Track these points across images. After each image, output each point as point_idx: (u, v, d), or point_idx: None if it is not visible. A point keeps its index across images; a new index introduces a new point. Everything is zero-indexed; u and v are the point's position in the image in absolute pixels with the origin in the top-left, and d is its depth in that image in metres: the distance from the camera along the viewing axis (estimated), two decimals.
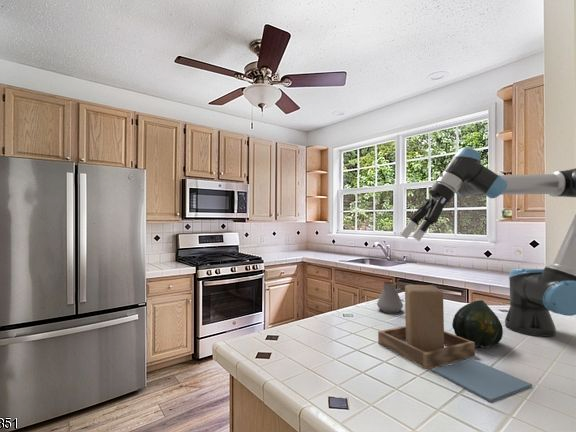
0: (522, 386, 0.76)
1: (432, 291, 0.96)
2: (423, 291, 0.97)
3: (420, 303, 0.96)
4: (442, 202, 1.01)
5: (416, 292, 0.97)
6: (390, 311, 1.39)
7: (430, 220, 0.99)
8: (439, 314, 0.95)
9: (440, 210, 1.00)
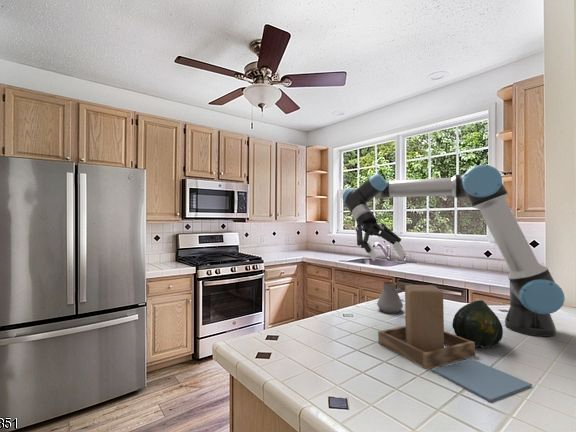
0: (522, 386, 0.76)
1: (432, 291, 0.96)
2: (423, 291, 0.97)
3: (420, 303, 0.96)
4: (357, 228, 1.21)
5: (416, 292, 0.97)
6: (390, 311, 1.39)
7: (360, 244, 1.16)
8: (439, 314, 0.95)
9: (359, 233, 1.19)
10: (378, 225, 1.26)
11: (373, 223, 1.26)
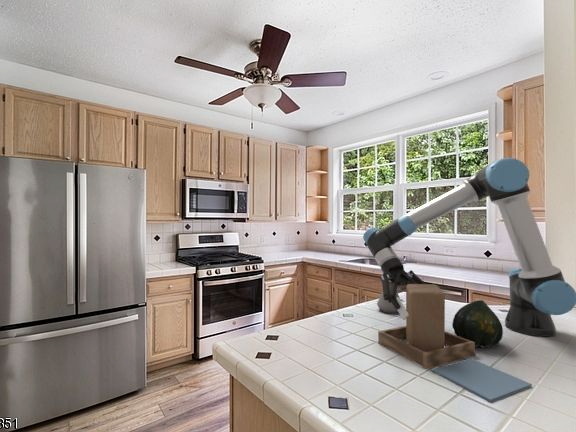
0: (522, 386, 0.76)
1: (433, 293, 0.94)
2: (424, 292, 0.95)
3: (421, 304, 0.95)
4: (383, 278, 1.07)
5: (417, 293, 0.95)
6: (390, 311, 1.39)
7: (387, 299, 1.02)
8: (440, 316, 0.94)
9: (385, 284, 1.05)
10: (406, 273, 1.11)
11: (400, 270, 1.11)
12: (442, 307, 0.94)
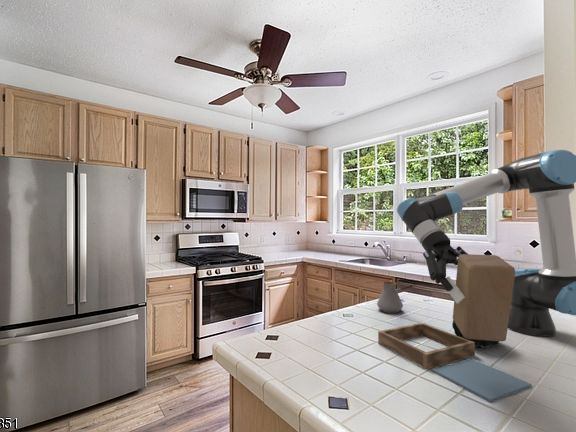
0: (522, 386, 0.76)
1: (501, 267, 0.74)
2: (489, 267, 0.74)
3: (484, 281, 0.75)
4: (427, 255, 0.88)
5: (480, 268, 0.74)
6: (390, 311, 1.39)
7: (436, 278, 0.82)
8: (507, 295, 0.74)
9: (431, 262, 0.85)
10: (453, 249, 0.92)
11: (446, 246, 0.92)
12: (511, 285, 0.74)
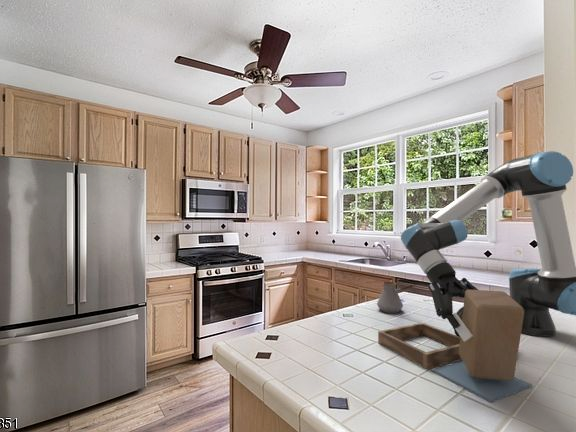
0: (522, 386, 0.76)
1: (510, 307, 0.72)
2: (498, 307, 0.73)
3: (492, 321, 0.73)
4: (433, 288, 0.86)
5: (488, 308, 0.73)
6: (390, 311, 1.39)
7: (442, 315, 0.81)
8: (516, 336, 0.73)
9: (437, 296, 0.84)
10: (459, 281, 0.90)
11: (452, 278, 0.90)
12: (520, 325, 0.72)
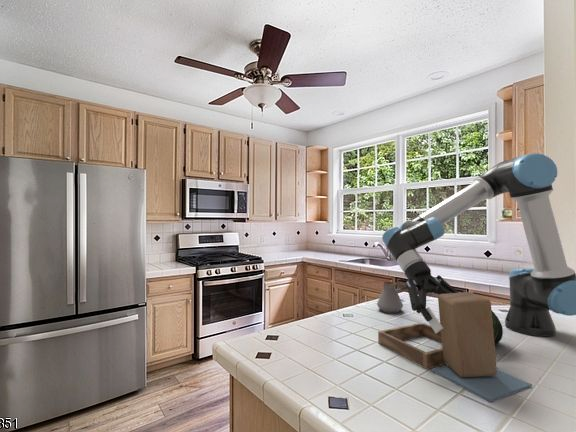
0: (522, 386, 0.76)
1: (479, 300, 0.81)
2: (468, 301, 0.81)
3: (467, 315, 0.80)
4: (409, 285, 0.94)
5: (461, 303, 0.80)
6: (390, 311, 1.39)
7: (416, 309, 0.88)
8: (489, 327, 0.80)
9: (412, 292, 0.91)
10: (433, 278, 0.98)
11: (427, 275, 0.98)
12: (490, 316, 0.80)
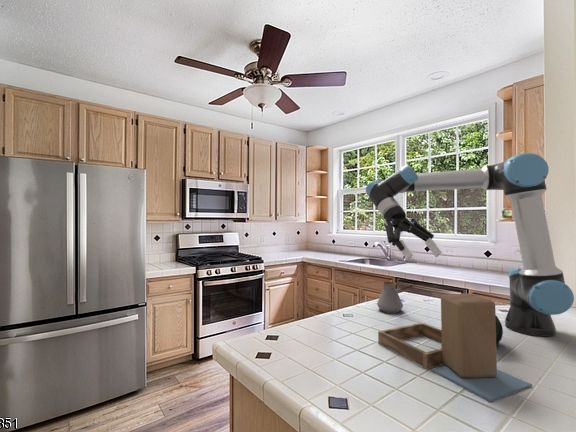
0: (522, 386, 0.76)
1: (484, 302, 0.81)
2: (474, 302, 0.81)
3: (472, 316, 0.80)
4: (387, 224, 1.10)
5: (467, 304, 0.80)
6: (390, 311, 1.39)
7: (392, 241, 1.05)
8: (492, 328, 0.80)
9: (389, 229, 1.07)
10: (408, 220, 1.14)
11: (402, 218, 1.14)
12: (494, 318, 0.81)
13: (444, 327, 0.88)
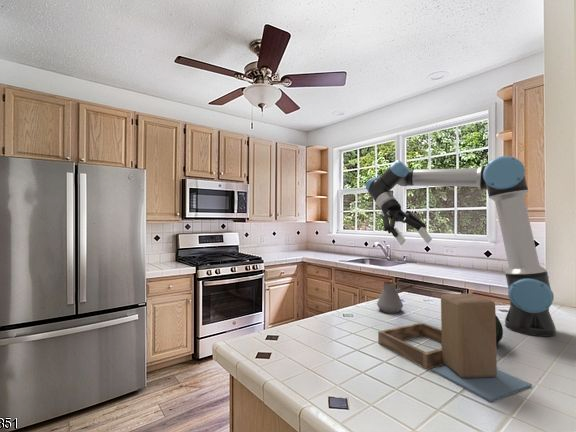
0: (522, 386, 0.76)
1: (484, 302, 0.81)
2: (474, 302, 0.81)
3: (472, 316, 0.80)
4: (383, 215, 1.25)
5: (467, 304, 0.80)
6: (390, 311, 1.39)
7: (387, 229, 1.20)
8: (492, 328, 0.80)
9: (385, 219, 1.22)
10: (403, 212, 1.29)
11: (398, 210, 1.29)
12: (494, 318, 0.81)
13: (444, 327, 0.88)
